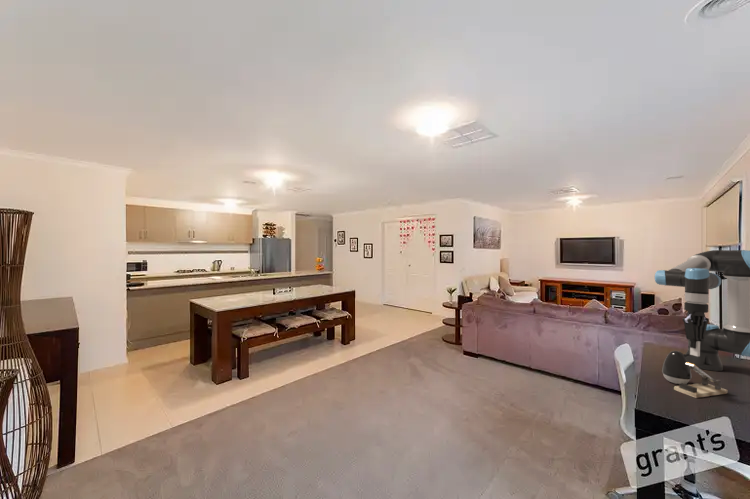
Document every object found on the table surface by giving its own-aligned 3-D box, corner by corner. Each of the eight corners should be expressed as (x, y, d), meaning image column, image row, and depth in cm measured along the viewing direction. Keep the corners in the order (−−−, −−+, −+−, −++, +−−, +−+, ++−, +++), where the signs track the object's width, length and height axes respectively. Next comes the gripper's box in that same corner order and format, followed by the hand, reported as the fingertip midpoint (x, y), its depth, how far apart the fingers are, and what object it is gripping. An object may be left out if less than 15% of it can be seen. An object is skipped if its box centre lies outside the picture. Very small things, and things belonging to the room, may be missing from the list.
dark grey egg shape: (697, 388, 145) (698, 355, 145) (671, 385, 147) (672, 353, 147) (681, 379, 155) (681, 348, 155) (656, 377, 157) (657, 346, 157)
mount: (704, 385, 147) (704, 374, 147) (727, 393, 140) (727, 381, 140) (674, 389, 142) (674, 377, 142) (695, 397, 135) (696, 385, 135)
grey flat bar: (707, 380, 144) (708, 378, 145) (716, 383, 141) (717, 381, 142) (684, 364, 141) (685, 362, 141) (693, 367, 138) (694, 364, 138)
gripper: (696, 301, 145) (694, 351, 145) (675, 301, 142) (674, 353, 142) (717, 303, 138) (715, 357, 138) (696, 304, 135) (695, 359, 135)
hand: (694, 355), depth 140 cm, fingers closed
